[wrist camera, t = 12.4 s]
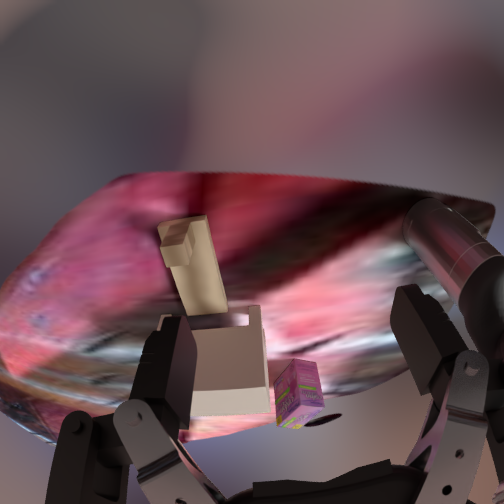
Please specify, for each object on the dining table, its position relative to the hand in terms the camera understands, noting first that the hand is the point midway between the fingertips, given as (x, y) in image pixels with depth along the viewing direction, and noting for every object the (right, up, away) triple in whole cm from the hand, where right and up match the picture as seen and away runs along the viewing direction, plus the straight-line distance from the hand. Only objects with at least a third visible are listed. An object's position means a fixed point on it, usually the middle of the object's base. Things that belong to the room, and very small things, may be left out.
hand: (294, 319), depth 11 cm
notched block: (-9, -11, +42) cm, 44 cm away
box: (+8, -24, +51) cm, 57 cm away
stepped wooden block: (-10, 0, +35) cm, 37 cm away
